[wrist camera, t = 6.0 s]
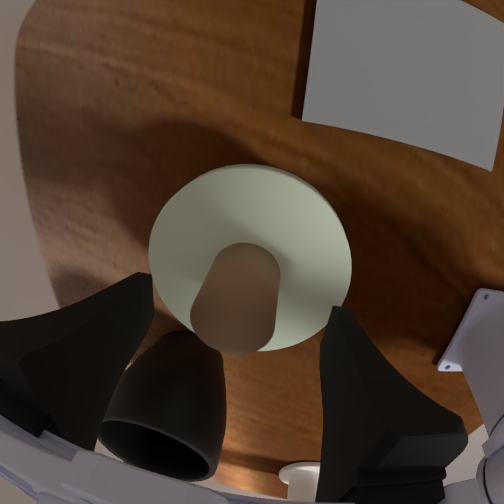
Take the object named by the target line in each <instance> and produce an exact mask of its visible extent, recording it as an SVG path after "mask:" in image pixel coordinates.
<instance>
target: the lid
mask: <svg viewBox="0 0 504 504" xmlns="http://www.w3.org/2000/svg"><path fill="white" fill-rule="evenodd" d="M148 254H149V266H150V272H151V274H152V279H153V282H154V285H155V287H156V289H157V292H158V294H159V296H160V297H161V299H162V300H163V302H164V304H165V305H166V306H167V308H168V309H169V310H170V311H171V313H172V314H173V315H174V316H175V317H176V318H177V319H178V320H179V321H180V322H181V323H182V324H184V325H185V326H186V327H187V328H189V329H190V330H191V331H193V332H194V333H196V335H197V336H198V337H199V338H200V339H201V340H202V341H203V342H204V343H205V344H207V345H208V346H210V347H211V348H213V349H215V350H218V351H220V352H223V353H227V354H234V355H243V354H249V353H253V352H256V351H269V350H276V349H281V348H285V347H289V346H292V345H294V344H297V343H300V342H302V341H304V340H306V339H308V338H310V337H311V336H313V335H314V334H316V333H317V332H319V331H320V330H321V329H322V328H323V327H324V326H326V325H327V322H328V319H329V316H330V313H331V310H332V306H342V303H343V301H344V299H345V297H346V295H347V292H348V288H349V285H350V279H351V272H352V266H351V254H350V248H349V244H348V241H347V238H346V235H345V232H344V229H343V227H342V224H341V222H340V220H339V218H338V216H337V214H336V212H335V211H334V209H333V208H332V206H331V205H330V203H329V202H328V201H327V200H326V199H325V198H324V197H323V196H322V194H321V193H320V192H319V191H317V190H316V189H315V188H314V187H313V186H311V185H310V184H309V183H307V182H306V181H304V180H302V179H301V178H299V177H297V176H296V175H294V174H291V173H289V172H287V171H284V170H282V169H278V168H274V167H271V166H266V165H258V164H236V165H229V166H224V167H221V168H217V169H214V170H211V171H209V172H207V173H205V174H202V175H200V176H199V177H197V178H196V179H194V180H192V181H191V182H189V183H188V184H187V185H186V186H184V187H183V188H182V189H181V190H179V191H178V192H177V193H176V194H175V195H174V196H173V197H171V199H170V200H169V201H168V202H167V203H166V205H165V206H164V207H163V209H162V210H161V212H160V214H159V215H158V217H157V219H156V221H155V224H154V226H153V228H152V232H151V236H150V240H149V251H148Z"/></svg>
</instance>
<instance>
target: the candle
mask: <svg viewBox="0 0 504 504" xmlns="http://www.w3.org/2000/svg"><path fill="white" fill-rule="evenodd" d="M319 470H320V462H299V463H294V464H290V465H287V466H285V467H283V468H282V469H281V470H280V472H279V478H280V480H281V481H283V482H284V483H286V484H289V485H288V497H287V501H297V502H315V497H316V491H317V485H318V478H319Z"/></svg>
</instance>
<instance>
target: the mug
mask: <svg viewBox="0 0 504 504" xmlns="http://www.w3.org/2000/svg"><path fill="white" fill-rule="evenodd" d="M226 411H227V403H226V386H225V377H224V369H223V358H222V355H221V353H220V351H218V350H215V349H213V348H211V347H210V346H208V345H207V344H205V343H204V342H203V341H202V340H201V339H200V338H199V337H198V336H197V335H196V334H195V333H192V332H187V331H173V332H170V333H167V334H165V335H164V336H162V337H161V338H160V340H158V341H157V342H156V343H155V344H154V345H152V346H151V347H150V348H148V349H147V350H146V351H145V352H144V353H143V354H142V355H140V356H139V357H138V358H137V359H136V360H135V361H134V362H133V363H132V364H131V366H130V367H129V368H128V369H127V370H126V371H125V372H124V373H123V374H122V376H121V377H120V379H119V381H118V384H117V386H116V388H115V391H114V393H113V395H112V398H111V400H110V403H109V405H108V408H107V411H106V413H105V416H104V419H103V422H102V425H101V428H100V431H99V434H98V440H99V441H100V442H101V443H102V444H103V445H104V446H105V447H106V448H107V449H108V450H109V451H110V452H111V453H113V454H114V455H115V456H117V457H118V458H120V459H121V460H123V461H124V463H127V464H129V465H132V466H135V467H138V468H141V469H144V470H147V471H151V472H154V473H157V474H160V475H164V476H167V477H171V478H175V479H178V480H182V481H186V482H195V481H203V480H206V479H209V478H210V477H212V476H213V475H214V474H215V472H216V469H217V466H218V461H219V457H220V453H221V449H222V444H223V439H224V435H225V428H226Z"/></svg>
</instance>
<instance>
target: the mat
mask: <svg viewBox="0 0 504 504" xmlns="http://www.w3.org/2000/svg"><path fill="white" fill-rule="evenodd" d="M503 106H504V23H502V22H501V21H499V20H497V19H495V18H494V17H492V16H490V15H488V14H486V13H485V12H483V11H481V10H479V9H477V8H475V7H473V6H471V5H469V4H467V3H465V2H463V1H461V0H317V2H316V11H315V20H314V29H313V37H312V45H311V53H310V61H309V69H308V77H307V85H306V92H305V100H304V107H303V114H302V121H306V122H312V123H318V124H323V125H329V126H334V127H339V128H344V129H349V130H353V131H358V132H363V133H367V134H371V135H376V136H380V137H384V138H388V139H392V140H396V141H399V142H403V143H407V144H410V145H414V146H417V147H421V148H424V149H428V150H431V151H434V152H438V153H441V154H444V155H447V156H450V157H453V158H456V159H459V160H462V161H465V162H468V163H470V164H473V165H476V166H479V167H481V168H484V169H487V170H489V171H492V168H493V164H494V159H495V154H496V149H497V144H498V139H499V133H500V127H501V121H502V114H503Z"/></svg>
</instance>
